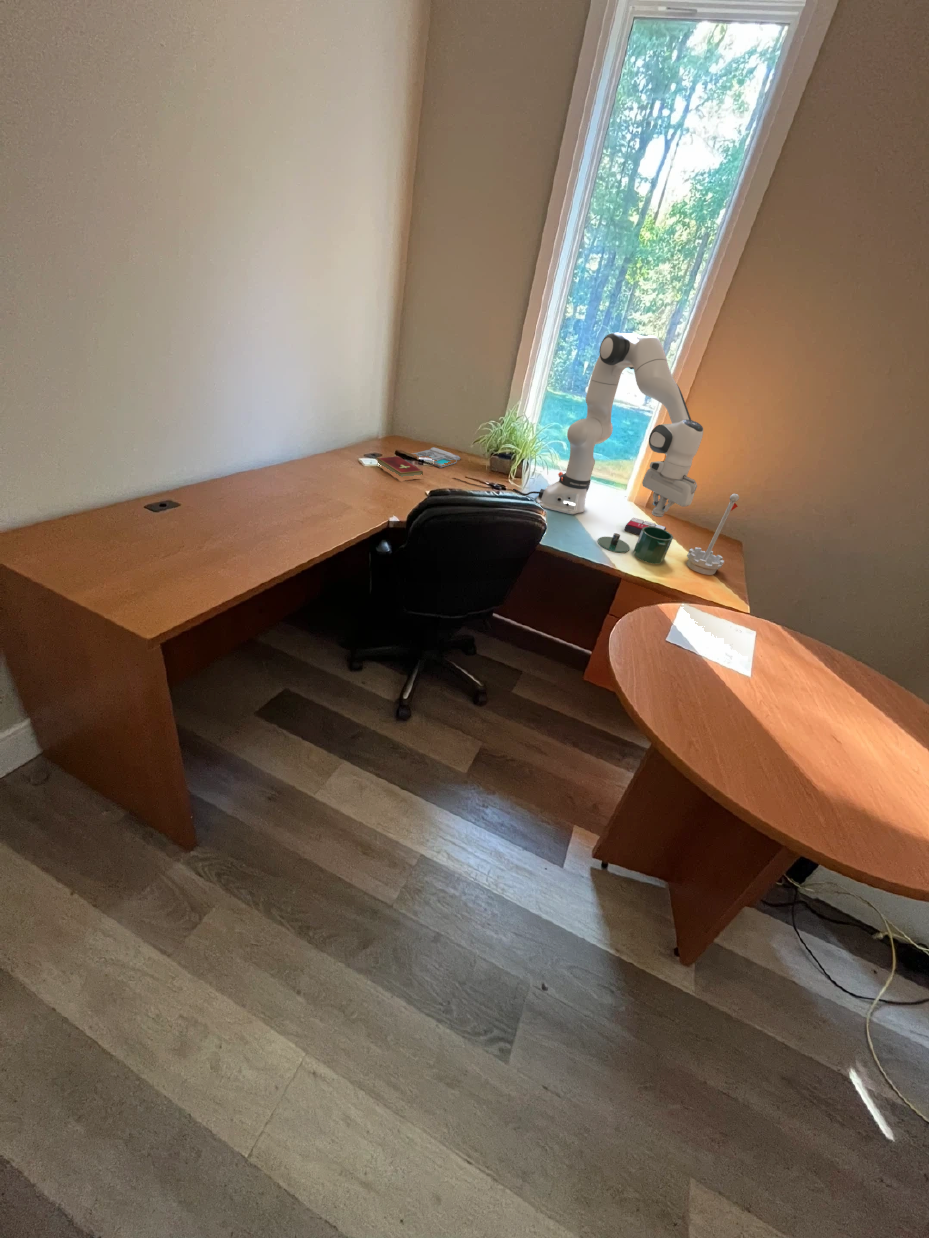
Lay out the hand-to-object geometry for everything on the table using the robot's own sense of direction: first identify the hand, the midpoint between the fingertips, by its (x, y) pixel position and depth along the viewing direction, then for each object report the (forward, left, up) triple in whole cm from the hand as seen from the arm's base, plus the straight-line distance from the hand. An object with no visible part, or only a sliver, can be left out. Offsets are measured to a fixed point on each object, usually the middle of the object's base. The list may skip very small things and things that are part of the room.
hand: (659, 508), depth 177 cm
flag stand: (+25, +1, -21) cm, 32 cm away
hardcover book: (-104, +51, -21) cm, 117 cm away
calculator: (+8, +26, -21) cm, 35 cm away
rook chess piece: (0, 0, -3) cm, 3 cm away
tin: (+4, +2, -21) cm, 21 cm away
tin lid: (-9, +7, -20) cm, 23 cm away
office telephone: (-89, +80, -21) cm, 122 cm away
